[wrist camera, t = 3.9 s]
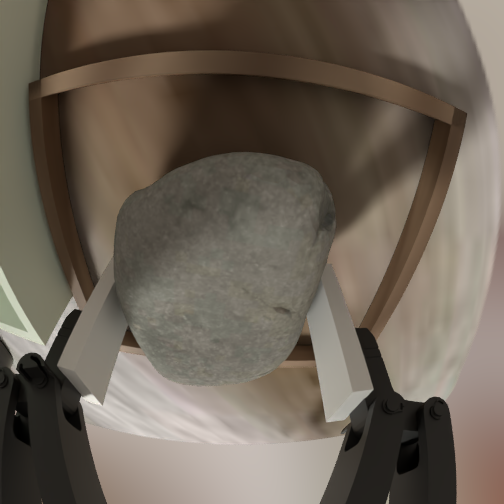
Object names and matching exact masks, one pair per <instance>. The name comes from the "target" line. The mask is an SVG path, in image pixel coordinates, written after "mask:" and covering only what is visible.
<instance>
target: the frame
mask: <svg viewBox="0 0 504 504" xmlns="http://www.w3.org/2000/svg"><path fill="white" fill-rule="evenodd" d="M193 74H217V75H242V76H256V77H267V78H276V79H285V80H292V81H299V82H305V83H311V84H317V85H322V86H327V87H332V88H337V89H341V90H346V91H350V92H354V93H358V94H362V95H365V96H369V97H373V98H376V99H380V100H383V101H386V102H389V103H393V104H396V105H399V106H402V107H405V108H407V109H410V110H413V111H416V112H418V113H421V114H424V115H426V116H429V117H431V118H434V119H435V121H434V126H433V131H432V135H431V140H430V144H429V148H428V152H427V156H426V160H425V164H424V167H423V171H422V175H421V178H420V181H419V185H418V188H417V191H416V194H415V198H414V201H413V204H412V207H411V210H410V213H409V215H408V218H407V221H406V224H405V227H404V229H403V232H402V235H401V237H400V240H399V242H398V245H397V247H396V250H395V252H394V255H393V257H392V260H391V262H390V264H389V267H388V269H387V271H386V273H385V276H384V278H383V280H382V282H381V285H380V287H379V289H378V291H377V293H376V295H375V297H374V299H373V301H372V303H371V305H370V308H369V310H368V311H367V313H366V315H365V317H364V319H363V321H362V323H361V325H360V327H359V328H368V330H369V331H370V332H371V333H372V334H373V336H374V337H375V339H376V340H377V338H378V337H379V335H380V333H381V332H382V330H383V329H384V327H385V325H386V324H387V322H388V320H389V318H390V317H391V315H392V313H393V312H394V310H395V308H396V306H397V304H398V303H399V301H400V299H401V297H402V295H403V293H404V291H405V290H406V288H407V286H408V284H409V282H410V280H411V278H412V276H413V274H414V272H415V270H416V268H417V265H418V263H419V261H420V259H421V257H422V255H423V252H424V250H425V248H426V246H427V243H428V241H429V239H430V236H431V234H432V231H433V229H434V226H435V224H436V221H437V219H438V216H439V213H440V211H441V208H442V205H443V202H444V199H445V197H446V194H447V191H448V188H449V184H450V181H451V178H452V175H453V171H454V168H455V164H456V161H457V157H458V153H459V149H460V145H461V141H462V137H463V132H464V128H465V123H466V118H467V113H465V112H464V111H462V110H460V109H458V108H456V107H454V106H452V105H450V104H448V103H446V102H444V101H442V100H439V99H437V98H435V97H433V96H430V95H428V94H426V93H423V92H421V91H419V90H416V89H414V88H411V87H409V86H406V85H403V84H401V83H398V82H395V81H392V80H389V79H386V78H383V77H380V76H377V75H374V74H370V73H367V72H364V71H360V70H356V69H353V68H349V67H345V66H341V65H336V64H332V63H327V62H322V61H317V60H312V59H306V58H300V57H294V56H287V55H279V54H271V53H260V52H247V51H224V50H199V51H176V52H163V53H153V54H145V55H137V56H130V57H124V58H118V59H113V60H108V61H103V62H98V63H94V64H89V65H85V66H81V67H78V68H74V69H70V70H67V71H63V72H60V73H57V74H54V75H51V76H48V77H45V78H42V79H39V80H36V81H34V82H31V83H29V116H30V129H31V139H32V147H33V155H34V161H35V167H36V173H37V178H38V184H39V188H40V193H41V198H42V202H43V206H44V210H45V214H46V218H47V221H48V225H49V229H50V232H51V235H52V239H53V242H54V245H55V248H56V251H57V254H58V257H59V260H60V263H61V265H62V268H63V271H64V274H65V276H66V279H67V281H68V284H69V286H70V289H71V291H72V294H73V296H74V298H75V301H76V303H77V305H78V307H79V310H82V311H83V309H84V307H85V305H86V303H87V301H88V299H89V298H90V296H91V294H92V292H93V290H94V285H93V283H92V280H91V277H90V274H89V271H88V268H87V264H86V261H85V258H84V255H83V251H82V248H81V244H80V240H79V237H78V233H77V229H76V225H75V221H74V217H73V212H72V208H71V203H70V198H69V193H68V188H67V182H66V176H65V170H64V163H63V156H62V148H61V138H60V127H59V110H58V93H61V92H65V91H69V90H73V89H77V88H82V87H86V86H91V85H96V84H102V83H107V82H113V81H120V80H127V79H135V78H144V77H155V76H168V75H193ZM119 351H121V352H126V353H131V354H137V355H143V356H146V355H145V353H144V352H143V350H142V349H141V347H140V346H139V344H138V343H137V341H136V339H135V337H134V335H133V333H132V332H130V331H126V332H125V335H124V338H123V341H122V344H121V347H120V350H119ZM278 367H317V366H316V360H315V355H314V350H313V345H295V347H294V349H293V350H292V352H291V353H290V355H289V356H288V357H287V359H286V360H285V361H283V362H282V363H281V364H280V365H279V366H278Z"/></svg>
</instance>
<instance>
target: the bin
mask: <svg viewBox="0 0 504 504" xmlns="http://www.w3.org/2000/svg"><path fill="white" fill-rule="evenodd" d="M47 3H48V0H0V329H1V330H4V331H6V332H9V333H11V334H14V335H16V336H19V337H22V338H24V339H27V340H30V341H33V342H35V343H38V344H41V345H44V346H45V345H46V343H47V341H48V339H49V337H50V335H51V333H52V332H53V330H54V328H55V326H56V324H57V322H58V320H59V319H60V317H61V315H62V313H63V312H64V310H65V308H66V306H67V305H68V303H69V301H70V299H71V298H72V296H73V294H72V291H71V289H70V286H69V284H68V281H67V279H66V276H65V274H64V271H63V268H62V265H61V263H60V260H59V257H58V254H57V251H56V248H55V245H54V242H53V239H52V235H51V232H50V229H49V225H48V221H47V218H46V214H45V210H44V206H43V202H42V198H41V193H40V188H39V184H38V178H37V173H36V167H35V161H34V155H33V147H32V139H31V129H30V116H29V83H31V82H34V81H36V80H39V79H40V57H41V44H42V34H43V27H44V20H45V13H46V8H47Z"/></svg>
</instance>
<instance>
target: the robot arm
mask: <svg viewBox="0 0 504 504" xmlns="http://www.w3.org/2000/svg"><path fill="white" fill-rule="evenodd" d="M307 320H308V324H309V329H310V334H311V339H312V345H313V350H314V355H315V360H316V366H317V371H318V376H319V382H320V388H321V393H322V399H323V405H324V411H325V417H326V422H332V421H340V420H345V419H346V418H347V417H348V416H349V415H350V419H351V423H349V424H348V425H347V426H346V427H345V428H344V429H343V430H342V432H341V434H344V433H345V432H346V434H345V438H344V441H343V444H342V447H341V450H340V453H339V456H338V459H337V461H336V464H335V467H334V470H333V473H332V475H331V478H330V480H329V483H328V485H327V488H326V490H325V492H324V495H323V497H322V499H321V502H320V504H386V500H387V497H388V494H389V491H390V495H389V504H456V463H455V450H454V440H453V432H452V425H451V418H450V412H449V408H448V405H447V404H446V402H445V401H444V400H443V399H441V398H440V397H432V398H429V399H428V400H427V401H426V402H425V403H422V402H414V401H407V400H404V399H403V397H402V396H401V395H400V394H398V393H396V392H394V390H393V388H392V385H391V382H390V379H389V376H388V373H387V370H386V367H385V364H384V362H383V359H382V358H381V353H380V350H379V349H378V345H377V342H376V339H375V337H374V336H373V334H372V333H371V332H370V331H369V330H368V328H354V325H353V322H352V319H351V316H350V313H349V310H348V307H347V304H346V302H345V299H344V296H343V293H342V291H341V288H340V285H339V283H338V280H337V277H336V275H335V272H334V270H333V267H332V264H326V266H325V268H324V271H323V274H322V277H321V280H320V283H319V286H318V288H317V291H316V294H315V296H314V299H313V301H312V304H311V306H310V308H309V311H308V313H307ZM61 327H62V328H60V330H59V332H58V336H56V338H55V340H54V342H53V344H52V347H51V349H50V351H49V353H48V355H47V357H46V360H45V361H44V360H43V358H42V357H41V356H40V355H39V354H37V353H28V354H25V355H24V356H23V357H22V358H21V359H20V360H19V362H18V364H17V368H16V370H17V371H18V372H19V373H20V374H14V373H13V372H12V371H11V370H10V368H11V366H12V364H13V359H12V357H11V355H10V354H9V352H8V351H7V349H6V348H5V346H4V345H3V344H2V343H1V341H0V504H42V502H43V504H107V502H106V500H105V497H104V494H103V491H102V488H101V485H100V482H99V479H98V475H97V472H96V469H95V465H94V461H93V457H92V454H91V450H90V445H89V441H88V436H87V431H86V426H85V421H84V415H83V409H82V406H81V403H80V402H79V401H80V397H81V395H82V397H83V398H84V399H85V400H86V401H88V402H91V403H95V404H98V405H102V406H103V402H104V398H105V395H106V391H107V388H108V384H109V381H110V378H111V374H112V371H113V368H114V365H115V362H116V359H117V356H118V353H119V350H120V347H121V344H122V341H123V338H124V335H125V332H126V329H127V327H128V323H127V321H126V319H125V316H124V314H123V311H122V309H121V305H120V302H119V298H118V295H117V292H116V285H115V280H114V256H113V258H112V259H111V261H110V262H109V264H108V266H107V267H106V269H105V271H104V273H103V274H102V276H101V278H100V280H99V281H98V283H97V285H96V287H95V288H94V290H93V292H92V294H91V296H90V298H89V299H88V301H87V303H86V305H85V307H84V309H83V311H82V310H76V309H74V310H73V311H72V312H71V313H70V314H69V315H68V316H67V317H66V319H65V321H64V322H63V324H62V326H61ZM15 410H16V411H17V413H16V415H15ZM41 498H42V500H41Z"/></svg>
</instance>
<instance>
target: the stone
mask: <svg viewBox="0 0 504 504" xmlns="http://www.w3.org/2000/svg"><path fill="white" fill-rule="evenodd" d="M335 230H336V219H335V206H334V202H333V198H332V194H331V192H330V190H329V188H328V186H327V185H326V184H325V183H324V182H323V181H322V177H321V175H320V174H319V173H318V171H317V170H316V169H314V168H312V167H311V166H309V165H308V164H306V163H303V162H299V161H296V160H292V159H288V158H284V157H281V156H276V155H271V154H264V153H254V152H232V153H226V154H220V155H214V156H209V157H206V158H203V159H200V160H197V161H195V162H192V163H189V164H186V165H184V166H181V167H179V168H176V169H175V170H173V171H171V172H169V173H167V174H166V175H164V176H163V177H162V178H161V179H159V180H158V181H156V182H155V183H153V184H152V185H151V186H148V187H146V188H144V189H141V190H138V191H135V192H134V193H133V194H131V195H130V196H129V197H128V198H127V199H126V200H125V202H124V204H123V205H122V207H121V209H120V211H119V214H118V216H117V223H116V230H115V239H114V280H115V285H116V292H117V295H118V298H119V302H120V305H121V309H122V311H123V314H124V316H125V319H126V321H127V323H128V325H129V327H130V329H131V331H132V333H133V335H134V337H135V339H136V341H137V343H138V344H139V346H140V347H141V349H142V350H143V352H144V353H145V355H146V356H147V358H148V359H149V361H150V362H151V364H152V365H153V366H154V368H155V369H156V370H157V371H158V373H159V374H161V375H162V376H163V377H165V378H167V379H168V380H171V381H173V382H176V383H180V384H184V385H192V386H219V385H228V384H237V383H243V382H248V381H251V380H254V379H257V378H259V377H262V376H264V375H266V374H268V373H270V372H272V371H273V370H275V369H276V368H277V367H278V366H279V365H280V364H281V363H282V362H283V361H285V360H286V359H287V357H288V356H289V355H290V353H291V352H292V350H293V349H294V347H295V345H296V343H297V341H298V339H299V336H300V334H301V331H302V328H303V325H304V322H305V319H306V315H307V313H308V311H309V308H310V306H311V304H312V301H313V299H314V296H315V294H316V291H317V288H318V286H319V283H320V280H321V277H322V274H323V271H324V268H325V266H326V262H327V258H328V254H329V251H330V248H331V245H332V242H333V239H334V234H335Z"/></svg>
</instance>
